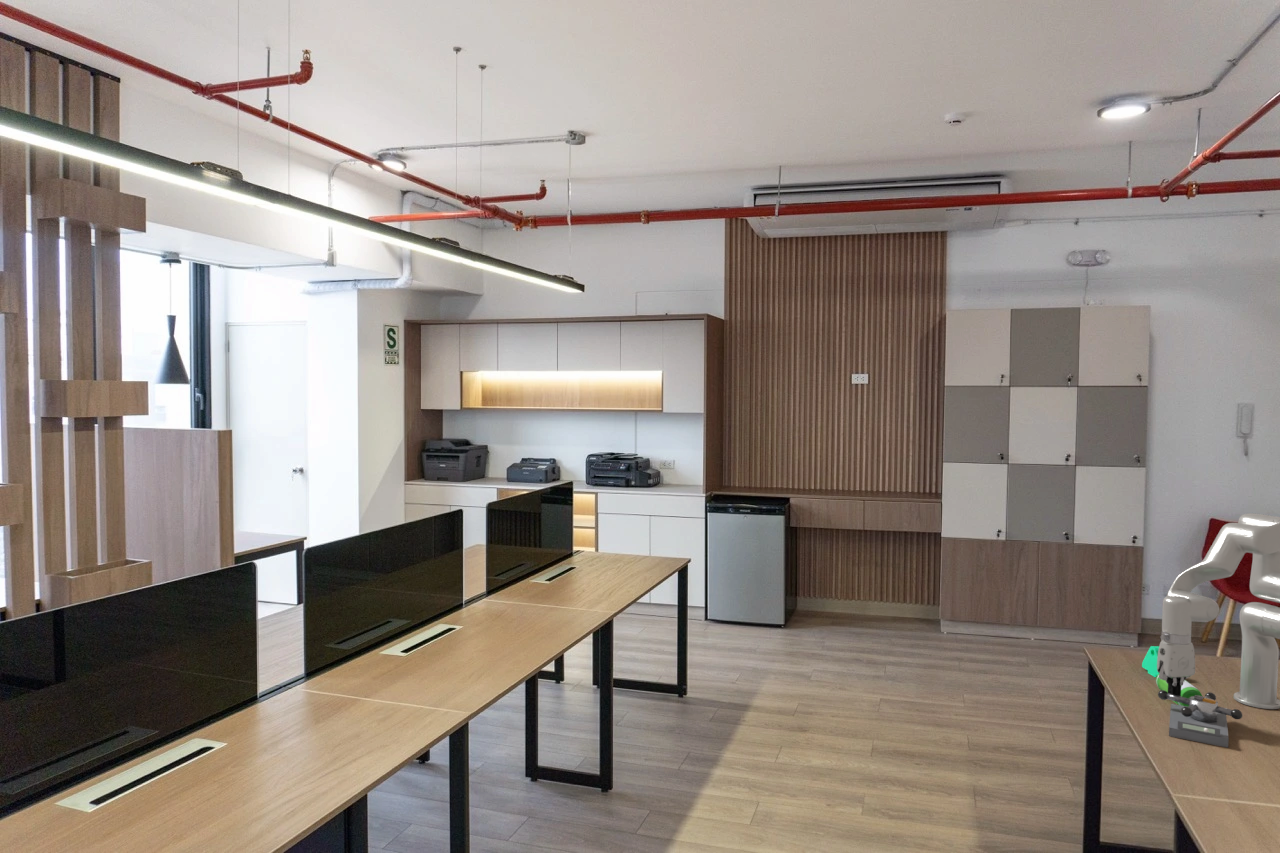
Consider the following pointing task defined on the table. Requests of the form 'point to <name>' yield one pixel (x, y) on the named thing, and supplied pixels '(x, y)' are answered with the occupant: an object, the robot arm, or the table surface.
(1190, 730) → the stand
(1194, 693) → the speaker
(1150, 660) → the camera mount
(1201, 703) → the capstan
